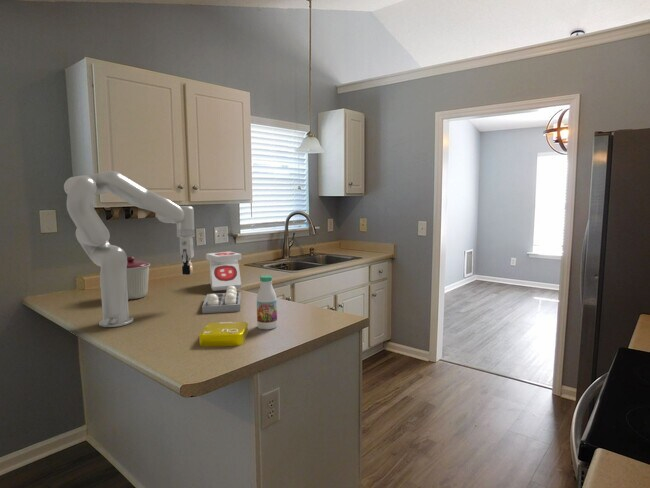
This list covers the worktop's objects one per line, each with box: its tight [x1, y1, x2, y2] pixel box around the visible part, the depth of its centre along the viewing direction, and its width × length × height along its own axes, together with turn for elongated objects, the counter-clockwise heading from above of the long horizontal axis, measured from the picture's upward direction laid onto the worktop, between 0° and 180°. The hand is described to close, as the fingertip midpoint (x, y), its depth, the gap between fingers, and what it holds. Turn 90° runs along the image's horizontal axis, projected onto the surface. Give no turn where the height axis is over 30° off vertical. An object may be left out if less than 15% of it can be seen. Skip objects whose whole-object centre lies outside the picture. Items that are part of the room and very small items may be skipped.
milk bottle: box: [256, 275, 278, 330], centre depth 163 cm, size 8×8×20 cm
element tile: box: [198, 321, 249, 347], centre depth 151 cm, size 15×15×5 cm
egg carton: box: [201, 286, 242, 314], centre depth 196 cm, size 24×16×7 cm
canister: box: [126, 255, 151, 300], centre depth 213 cm, size 18×18×21 cm
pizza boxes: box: [205, 251, 243, 291], centre depth 235 cm, size 19×30×18 cm, turn 18°
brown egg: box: [181, 260, 194, 276], centre depth 192 cm, size 5×5×6 cm
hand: (187, 272), depth 192 cm, fingers closed on brown egg, 4 cm apart
